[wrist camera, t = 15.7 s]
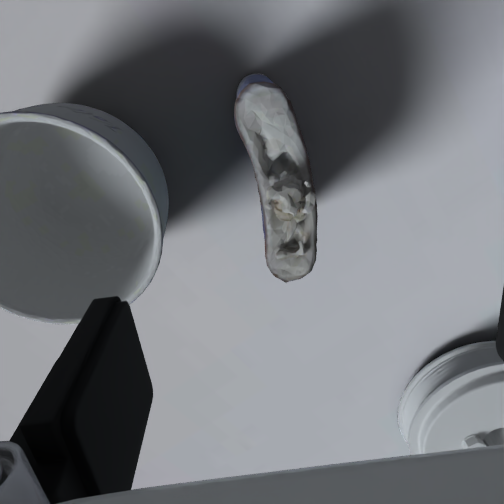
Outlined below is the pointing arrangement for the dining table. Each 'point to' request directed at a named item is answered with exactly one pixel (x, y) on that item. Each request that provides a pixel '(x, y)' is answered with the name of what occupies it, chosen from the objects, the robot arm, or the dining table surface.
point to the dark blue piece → (279, 175)
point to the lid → (455, 401)
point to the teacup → (76, 211)
